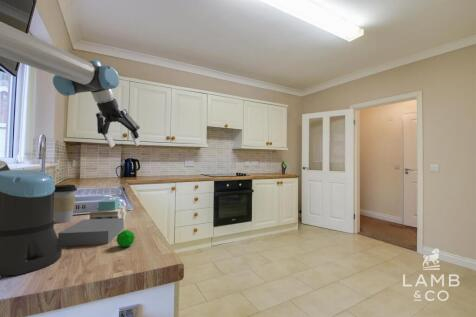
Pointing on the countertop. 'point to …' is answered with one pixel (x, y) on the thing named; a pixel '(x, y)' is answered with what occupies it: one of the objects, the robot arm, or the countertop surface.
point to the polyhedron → (125, 238)
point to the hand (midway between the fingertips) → (125, 145)
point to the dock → (91, 232)
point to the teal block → (109, 204)
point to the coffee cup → (64, 202)
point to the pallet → (109, 213)
